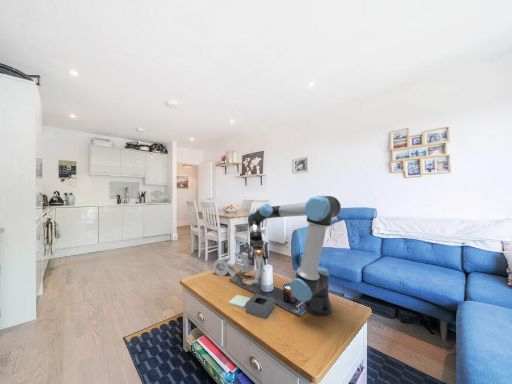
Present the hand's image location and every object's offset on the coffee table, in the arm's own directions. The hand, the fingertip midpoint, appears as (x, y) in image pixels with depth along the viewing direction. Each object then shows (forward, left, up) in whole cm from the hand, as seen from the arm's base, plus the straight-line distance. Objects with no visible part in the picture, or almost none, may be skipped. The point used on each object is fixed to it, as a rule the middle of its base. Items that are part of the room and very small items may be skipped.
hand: (259, 271), depth 113 cm
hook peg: (+2, -3, -8) cm, 9 cm away
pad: (+15, -5, -23) cm, 27 cm away
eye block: (+1, -3, -23) cm, 23 cm away
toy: (+30, -38, -23) cm, 54 cm away
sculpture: (+46, -35, -23) cm, 62 cm away
